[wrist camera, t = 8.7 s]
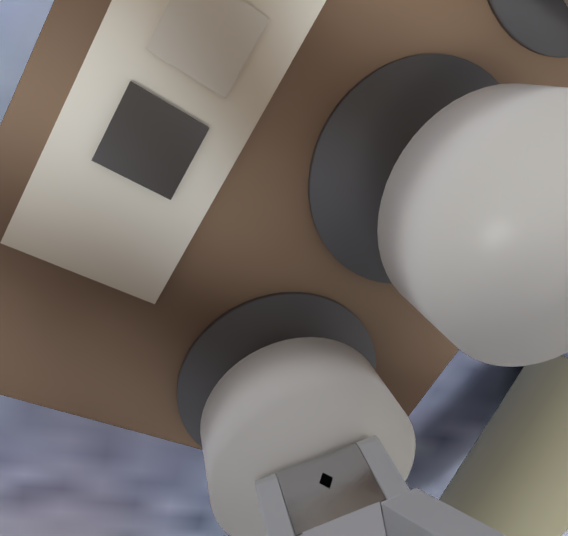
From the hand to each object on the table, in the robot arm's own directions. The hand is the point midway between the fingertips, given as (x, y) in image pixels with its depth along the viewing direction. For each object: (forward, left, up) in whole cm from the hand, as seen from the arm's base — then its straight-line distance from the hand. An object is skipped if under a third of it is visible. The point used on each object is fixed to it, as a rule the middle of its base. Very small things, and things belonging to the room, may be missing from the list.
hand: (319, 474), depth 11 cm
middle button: (+7, 0, -1) cm, 7 cm away
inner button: (0, 0, -2) cm, 2 cm away
